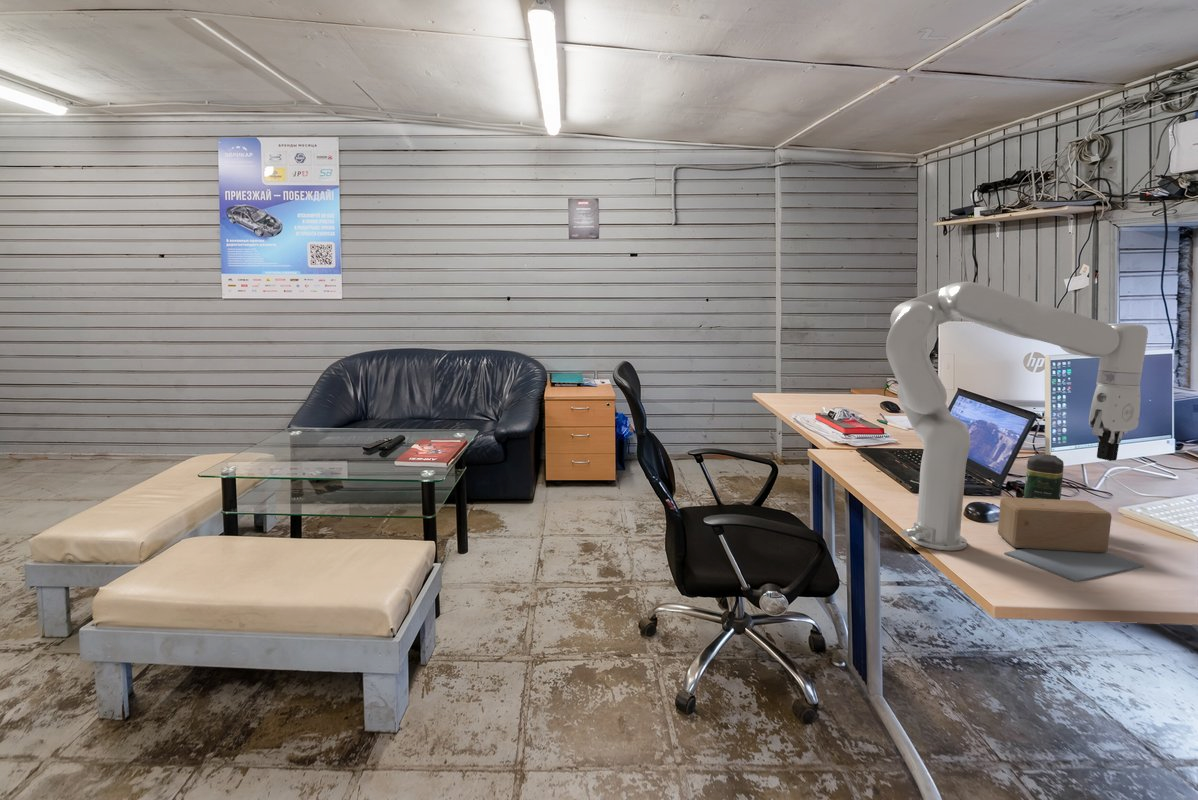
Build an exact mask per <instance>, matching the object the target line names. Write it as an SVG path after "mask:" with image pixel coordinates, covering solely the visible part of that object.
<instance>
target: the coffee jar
mask: <svg viewBox="0 0 1198 800" xmlns="http://www.w3.org/2000/svg"><path fill="white" fill-rule="evenodd" d="M1026 462H1027V465H1026V472H1025V473H1026V474H1025V480H1024V481H1025V483H1024V492H1023V498H1032V499H1054V500H1061V498H1062V489H1063V478H1064V461H1063V460H1062V459H1061V458H1059V457H1057V455H1053V454H1047V453H1046V454H1045V453H1037V454H1035V455H1032V456H1030V457H1029V458H1028V459H1027V461H1026Z"/></svg>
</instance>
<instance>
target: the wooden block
mask: <svg viewBox="0 0 1198 800" xmlns="http://www.w3.org/2000/svg"><path fill="white" fill-rule="evenodd" d="M999 502H1000V503H999V514H998V525H997V534H998V535H999V536H1000V537H1001V538H1003V540H1005V541H1007V543H1008V544H1010V546H1012V547H1014V548H1017V549H1025V548H1031V549H1048V550H1065V551H1082V552H1099V553H1104V552H1107V553H1108V550H1109V542H1110V534H1111V532H1110V531H1111V524H1112V514H1111V512H1110V511H1107V510H1106V509H1104V508H1102V507H1100V506H1098V505H1096V504H1094V503H1092V502H1091V501H1088V500H1075V499H1060V500H1054V499H1032V498H1024V497H1008V496H1005V497H1001V499H1000V501H999Z"/></svg>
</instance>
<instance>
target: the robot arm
mask: <svg viewBox="0 0 1198 800" xmlns="http://www.w3.org/2000/svg"><path fill="white" fill-rule="evenodd" d="M957 318H959V319H962V320H965V321H967V322H971V323H974V324H977V325H981V326H983V327H985V328H989V329H993V330H995V331H997V332H1001V333H1004V334H1006V335H1009V336H1013V337H1014V336H1015V337H1018V338H1021V339H1028V340H1029V339H1030V340H1034V341H1040V342H1044V343H1048V344H1051V345H1053V346H1054V345H1055V346H1058V347H1060V348H1061V349H1062V350H1063V352H1066V353H1068V354H1071V355H1074V356H1082V357H1088V358H1093V359H1094V358H1096V359H1097V358H1099V363H1098V369H1097V370H1098V371H1097V374H1096V375H1097V377H1096V384H1095V385H1096V387H1095V390H1094V394H1093V397H1092V401H1091V405H1090V409H1089V417H1088V425H1089V426H1090V427H1091V428H1092V430H1091V434H1092V435H1096V436H1097V442H1098V445H1097V452H1096V458H1097V459H1100V460H1105V461H1109V462H1113V461H1117V460H1118V459H1117V458H1118V452H1119V446H1120V443H1121V442H1122V439H1123V436H1124V435H1125V434H1128V433H1129V432H1130V431H1134V430H1135V429H1137V428H1138V426H1139V424H1140V423H1139V422H1140V416H1141V415H1140V412H1141V400H1142V399H1141V398H1142V397H1141V395H1142V394H1141V379H1142V373H1143V368H1144V362H1145V361H1144V360H1145V354H1146V349H1147V343H1148V336H1149V330H1148V328H1147V326H1146V325H1143V324H1134V323H1133V324H1132V323H1113V324H1112V323H1111V324H1109V323H1106V322H1103V321H1101V320H1097V319H1094V318H1092V317H1088V316H1086V315H1085V316H1084V315H1081V314H1078V313H1075V312H1072V311H1068V310H1065V309H1061V308H1057V307H1054V306H1050V305H1048V304H1045V303H1041V302H1039V301H1035V300H1031V299H1028V298H1025V297H1022V296H1018V295H1015V294H1012V293H1009V292H1005V291H1003V290H1000V289H996V288H994V287H990V286H988V285H984V284H981V283H979V282H973V281H958V282H953V283H950V284H948V285H945V286H943V287H941V288H938V289H934V290H933V291H930V292H928V293H925V294H922V295H920V296H917V297H915V298H912V299H909V300H906V301H904V302H901V303H900V304H897V306H896V307H894V308H893V310H892V312H891V314H890V319H889V321H890V325H891V326H890V329H889V331H888V335H887V338H886V341H885V342H886V343H885V352H886V357H887V361H888V363H889V365H890V368H891V371H892V372H893V375H894V378H895V380H896V382H897V388H896V394H897V398H898V399H897V400H898V401H899V403H900V405H901V407H902V409H903V412H904V414H905V415H906V418H907V419H908V422H909V423H910V426H911V428H912V430H913V431H914V433H915V435H916V436H917V437H916V438H918V439H919V440H920V442H921V443H922V444H923V452H922V456H921V462H920V470H919V486H918V487H919V489H918V499H917V500H918V501H917V502H918V503H917V516H916V522H913V526H912V527H911V528H906V529H903V530H902V531H901V535H902V537H903V538H909V540H910V541H911V542H913V543H914V544H916V545H919V546H921V547H925V548H928V549H932V550H939V551H949V552H950V551H951V552H952V551H953V552H954V551H960V550H963V549H965V548H967V545H968V540H967V539H966V538H965V537H963V536H962V535H961V531H962V530H961V527H962V526H961V525H962V519H963V517H962V515H963V502H964V489H965V478H966V477H965V476H966V467H967V460H968V456H969V452H970V448H971V434H970V431H969V429H968V426H967V425H966V424H965V423H964V422H963V421H962V420H960V419H959V418H957V417H956V416H954V415H952V414H951V411H950V409H949V408H948V405H947V404H946V403H947V399H948V395H947V394H948V393H947V390H946V388H945V386H944V384H943V383H942V380H941V379H940V377H939V375H938V373H937V371H936V369H935V367H934V364H933V362H932V361H931V358H930V356H929V353H928V351H927V344H926V343H927V339H928V336H929V335H930V333H931V332H932V330H933V329H934V328H935V327H936V326H937V327H938V326H939V325H941V324H944V323H947V322H950V321H952V320H955V319H957Z"/></svg>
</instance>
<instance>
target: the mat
mask: <svg viewBox="0 0 1198 800" xmlns="http://www.w3.org/2000/svg"><path fill="white" fill-rule="evenodd" d="M1004 555H1005V556H1008V557H1011V558H1014V559H1016V560H1018V559H1019V561H1021V562H1024V563H1026V564H1029V565H1032V566H1034V567H1037V568H1039V569H1042V570H1045V571H1047V572H1050V573H1052V574H1055V575H1057V576H1059V577H1062V578H1065V579H1067V580H1070V581H1073V582H1075V583H1079V582H1083V581H1086V580H1090V579H1091V580H1093V579H1097V578H1100V577H1104V576H1105V577H1106V576H1109V575H1113V574H1116V573H1117V574H1118V573H1123V572H1127V571H1130V570H1135V569H1140V568H1143V567H1145V565H1144V564H1143V563H1139V562H1137V561H1133V560H1132V559H1128V558H1124V557H1122V556H1118V555H1116V554H1112V553H1109V552H1108V551H1107V552H1104V553H1099V552H1082V551H1065V550H1048V549H1031V548H1019V549H1016V550H1010V551H1006V552H1004ZM1139 567H1140V568H1139ZM1126 570H1127V571H1126Z"/></svg>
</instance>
